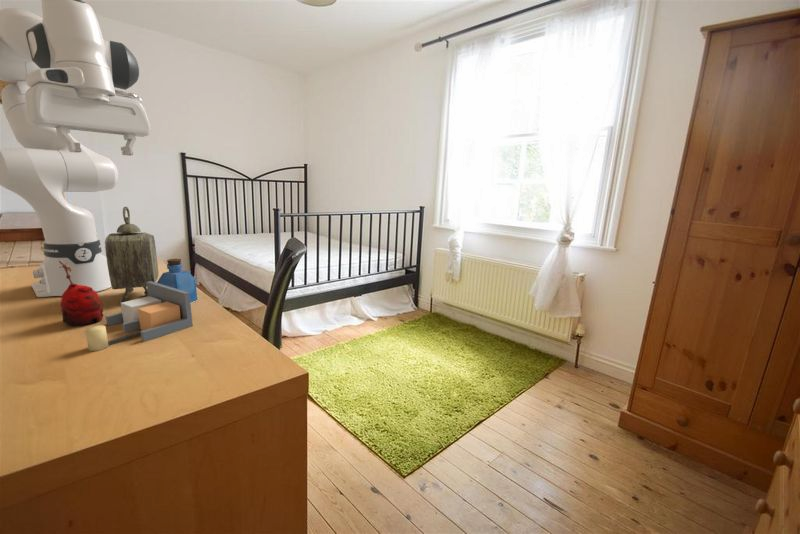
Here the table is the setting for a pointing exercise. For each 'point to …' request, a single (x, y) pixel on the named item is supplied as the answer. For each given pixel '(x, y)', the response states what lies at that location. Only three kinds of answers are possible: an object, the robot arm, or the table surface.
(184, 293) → the lane rack
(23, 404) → the table surface
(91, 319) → the red clay folk toy
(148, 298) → the white block
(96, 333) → the tan block and knob
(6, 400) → the table surface
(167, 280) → the perfume bottle
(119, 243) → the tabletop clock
